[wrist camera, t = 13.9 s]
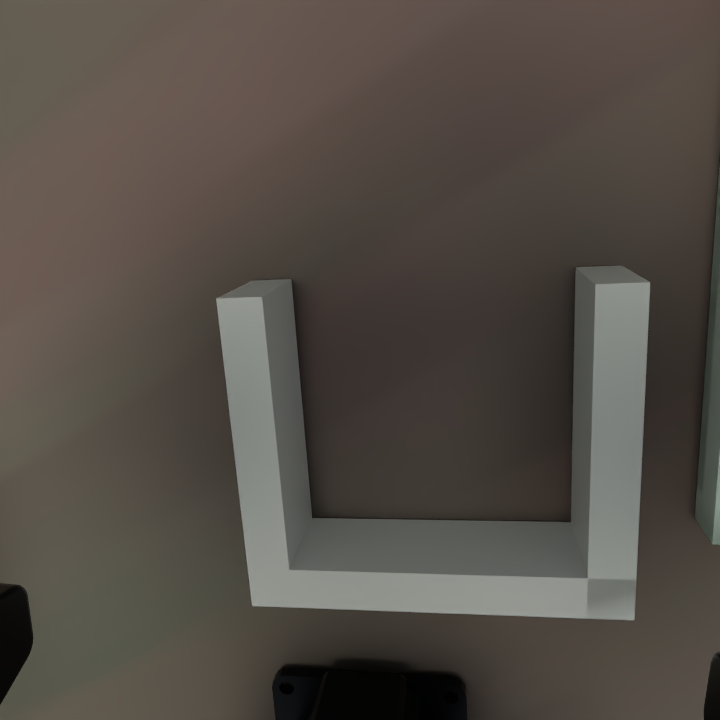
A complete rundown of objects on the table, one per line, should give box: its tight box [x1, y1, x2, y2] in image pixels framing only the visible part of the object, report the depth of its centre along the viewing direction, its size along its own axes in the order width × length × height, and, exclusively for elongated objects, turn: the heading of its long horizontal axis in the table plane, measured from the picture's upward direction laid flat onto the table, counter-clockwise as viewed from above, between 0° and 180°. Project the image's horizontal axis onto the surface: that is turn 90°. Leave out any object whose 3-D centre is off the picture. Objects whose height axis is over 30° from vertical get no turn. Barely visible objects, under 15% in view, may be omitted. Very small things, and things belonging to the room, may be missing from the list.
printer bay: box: [216, 265, 650, 620], centre depth 19 cm, size 9×10×3 cm
